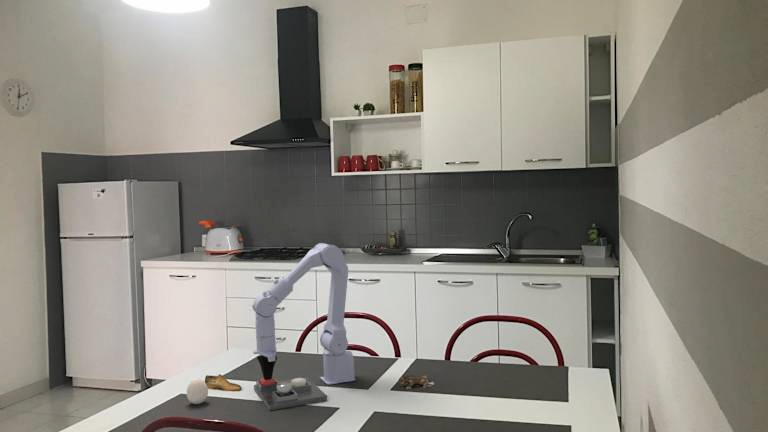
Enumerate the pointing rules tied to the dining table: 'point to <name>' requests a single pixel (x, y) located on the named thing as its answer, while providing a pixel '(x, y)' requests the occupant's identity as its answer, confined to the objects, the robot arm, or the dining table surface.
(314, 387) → the slate panel
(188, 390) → the egg
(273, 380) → the red button
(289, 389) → the steel button
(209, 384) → the shoe last
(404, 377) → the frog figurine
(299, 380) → the ivory button
